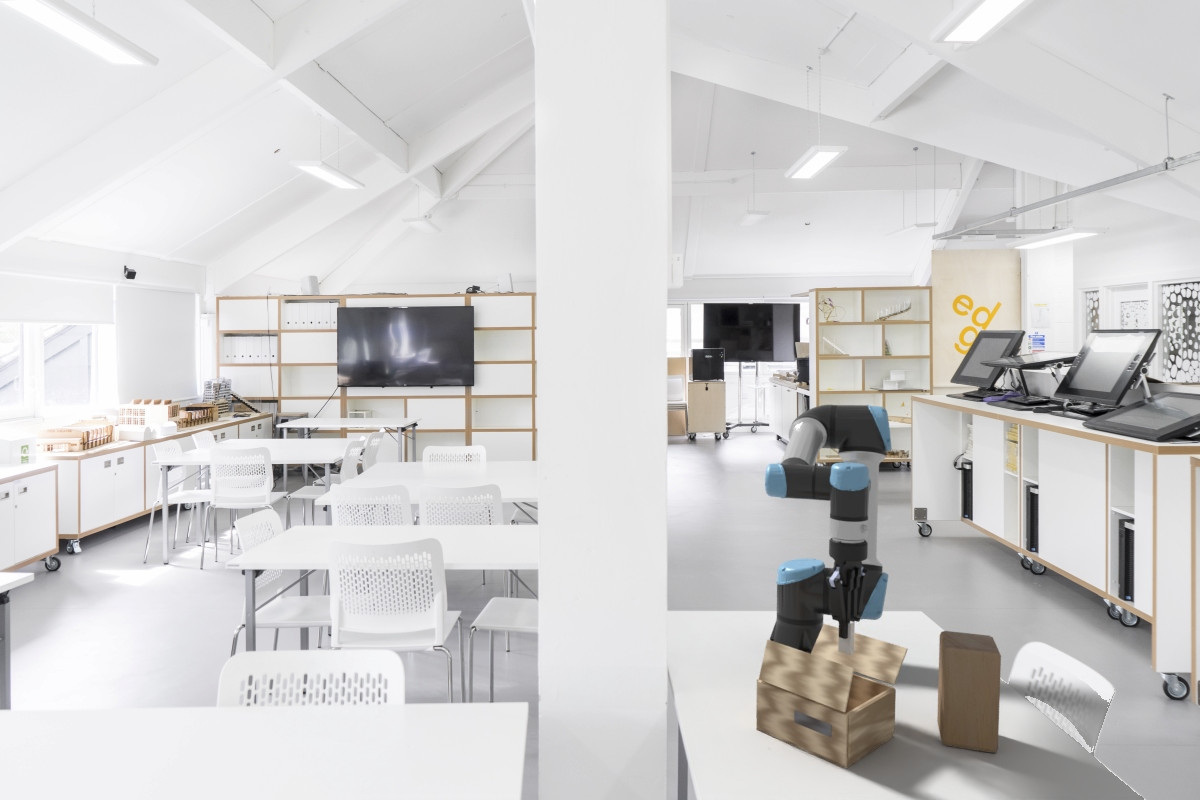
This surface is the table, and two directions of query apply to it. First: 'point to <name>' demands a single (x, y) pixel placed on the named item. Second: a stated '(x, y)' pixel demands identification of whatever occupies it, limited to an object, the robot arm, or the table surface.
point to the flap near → (807, 675)
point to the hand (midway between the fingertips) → (846, 652)
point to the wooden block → (969, 691)
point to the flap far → (862, 654)
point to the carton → (829, 720)
